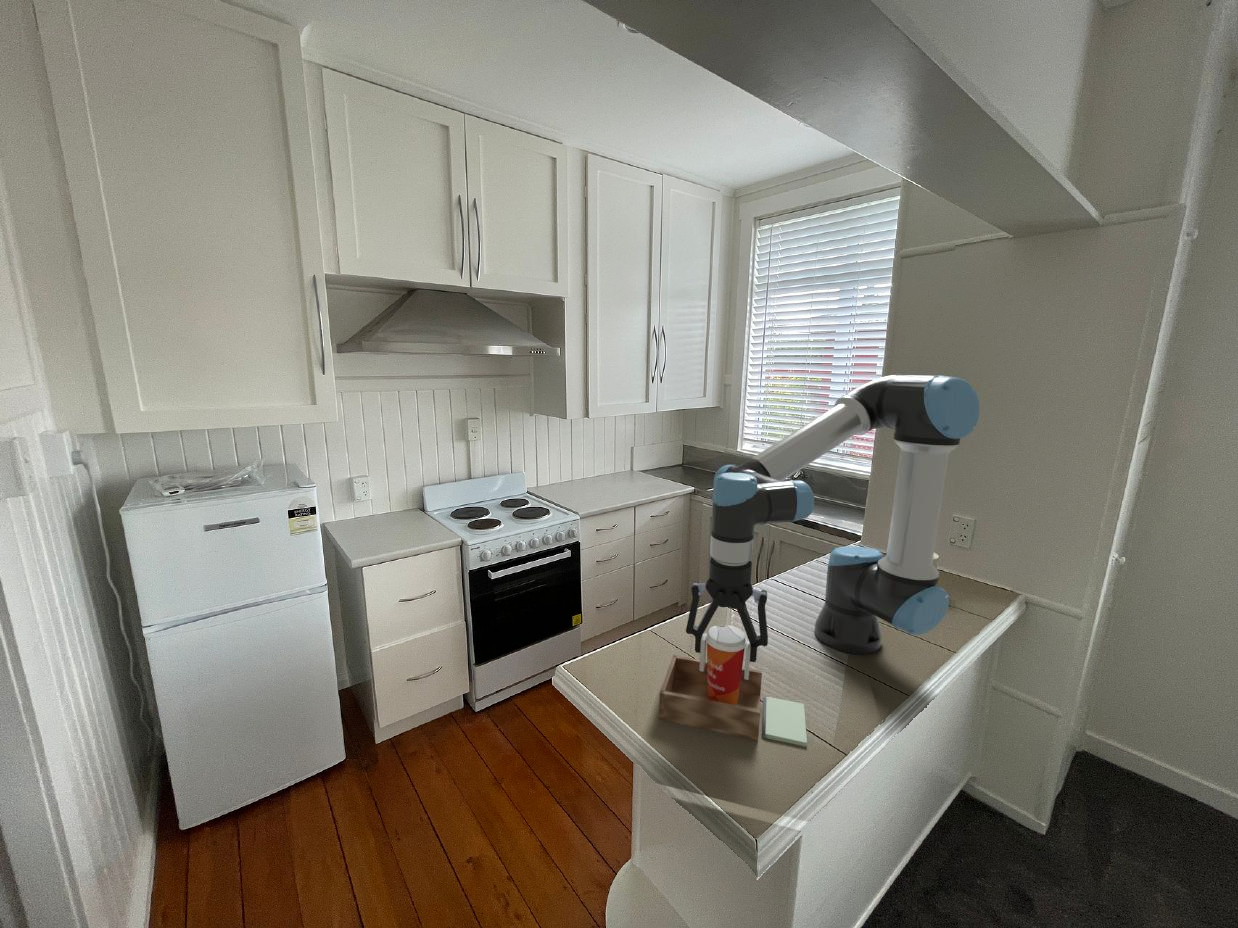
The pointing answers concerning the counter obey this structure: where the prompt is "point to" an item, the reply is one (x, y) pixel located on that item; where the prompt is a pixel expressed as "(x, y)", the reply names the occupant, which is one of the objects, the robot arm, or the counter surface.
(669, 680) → the crate
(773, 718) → the book
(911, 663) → the counter surface
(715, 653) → the paper cup
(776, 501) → the robot arm
